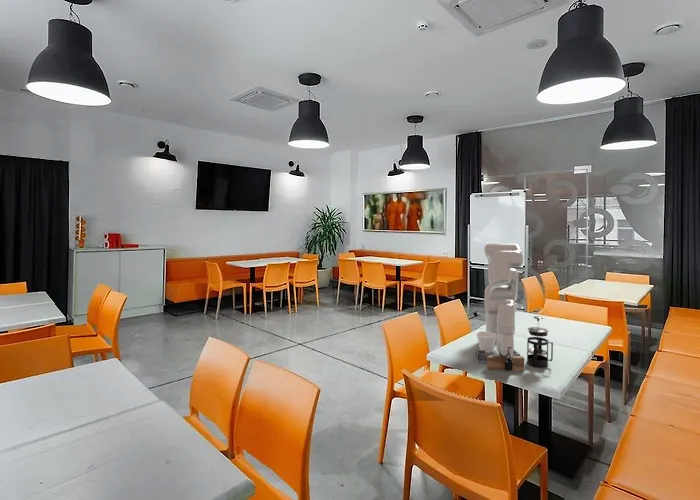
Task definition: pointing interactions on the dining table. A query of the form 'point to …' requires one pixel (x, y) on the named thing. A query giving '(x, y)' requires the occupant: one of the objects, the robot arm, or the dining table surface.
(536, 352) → the french press
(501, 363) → the slat
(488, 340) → the cup
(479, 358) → the cradle
